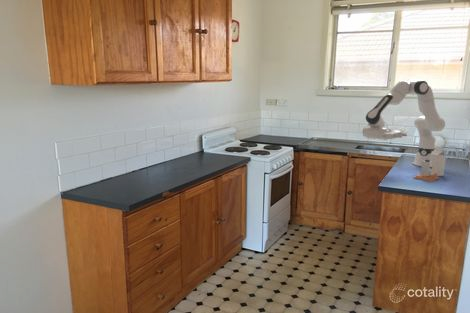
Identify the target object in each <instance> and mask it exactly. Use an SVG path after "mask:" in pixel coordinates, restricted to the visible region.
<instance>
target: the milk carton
mask: <svg viewBox="0 0 470 313" xmlns="http://www.w3.org/2000/svg"><path fill="white" fill-rule="evenodd" d="M434 148H435V150H434V151H433V152H431V153H430V161H432V169H431V175H432V174H434V173H437V177H442V176H444V175H445V166H446V159H447V154H446V152H444V150H443V149H441V148H437V147H434Z"/></svg>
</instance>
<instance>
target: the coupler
mask: <svg viewBox="0 0 470 313" xmlns="http://www.w3.org/2000/svg"><path fill="white" fill-rule="evenodd" d="M413 179H414V180H420V181H426V182H435V181H436V180H437V179H439V176H437V173H434V174H432V175H431V177H430V178H429V177H423V176H421V172H420V173H418V174H416V175H415V176H413Z"/></svg>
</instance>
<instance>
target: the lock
mask: <svg viewBox="0 0 470 313" xmlns="http://www.w3.org/2000/svg"><path fill="white" fill-rule="evenodd" d="M431 169H432V161H430V160H427V159H426V160H424V161H422V166H421V169H420V173H421V176H423V177H429V178H430V177H431Z"/></svg>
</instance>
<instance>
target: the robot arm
mask: <svg viewBox="0 0 470 313" xmlns="http://www.w3.org/2000/svg"><path fill="white" fill-rule="evenodd" d="M407 95H412V96H414V95H416V96H417V103H418V110H419V111H420V113H421V114H422V115H421V116H417V117H416V118H415V120H414V122H413V124H414V127H415V128H416V129H417V131H418V136H419V144H418V148H417V152H416V153H415V155H414V162H412V163H411V165H415V166H417V167H422V161H424V160H426V159H427V160H430V153H431V152H433V151H434V150H435V148H436V147H435V146H436V137H435V136H434V135H433V132H441V131H443V130H444V129H445V126H446V121H445V120H444V119H443V118H442V117H441V116H440V114H439V112H438V110H437V108H436V104H435V98H434V93H433V90H432V87H431V86H430V85H429V84H428V82H427V81H426V80H422V79H408V80H399V81H398V82H397V83H395V85H394V86H393V87H392V88H391V90H390V91H389V92H388V93H387V94H386V95H385V96H383V97H382V98H381V99H380V101H379V102H377V104H376V105H375V106H374V107H373V108H372V109H371V110H369V111H368V112H367V113H366V114H365V120H366V122H367V123H368V124H367V125H366V126H364V127H363V129H362V135H363V136H364V138H366V139H370V140H376V139H377V140H378V141H379V140H380V141H388V139H389V140H394V139H399V138H400V139H401V138H403V137H407V136H408V134H407V133H404V132H403V131H401V130H397V129H392V128H387V127H384V126H385V121H384V118H383V117H382V116H381V115H382V112H383V111H384V110H385V109H387V107H388V106H389V105H391V106H398V105H400V103H402V101H403V100H404V99H405V98H406V96H407Z"/></svg>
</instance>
